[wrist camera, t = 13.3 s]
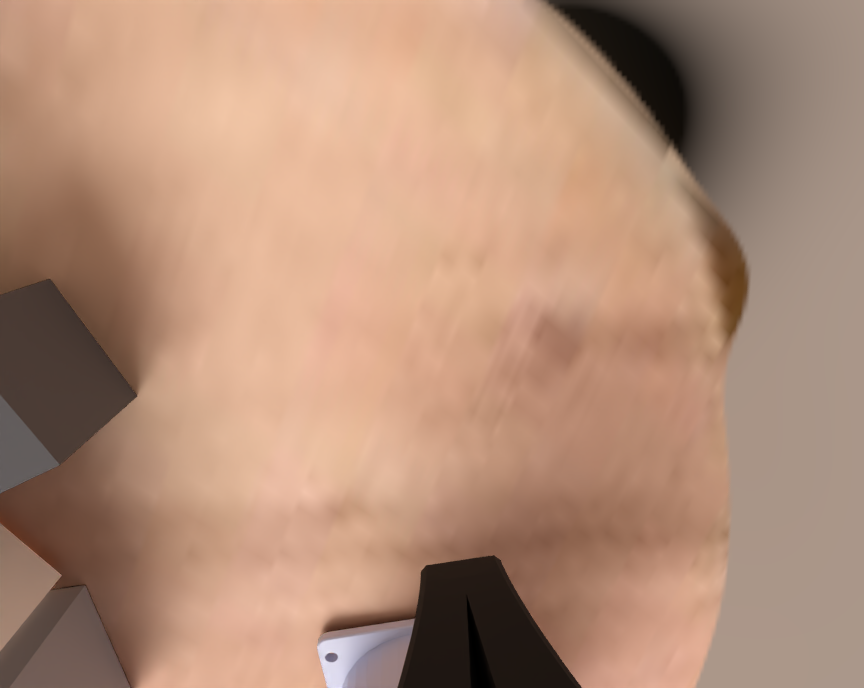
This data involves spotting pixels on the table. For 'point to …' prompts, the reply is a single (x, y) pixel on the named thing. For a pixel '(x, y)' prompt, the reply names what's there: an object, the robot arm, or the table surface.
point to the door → (20, 583)
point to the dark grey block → (50, 383)
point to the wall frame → (61, 647)
